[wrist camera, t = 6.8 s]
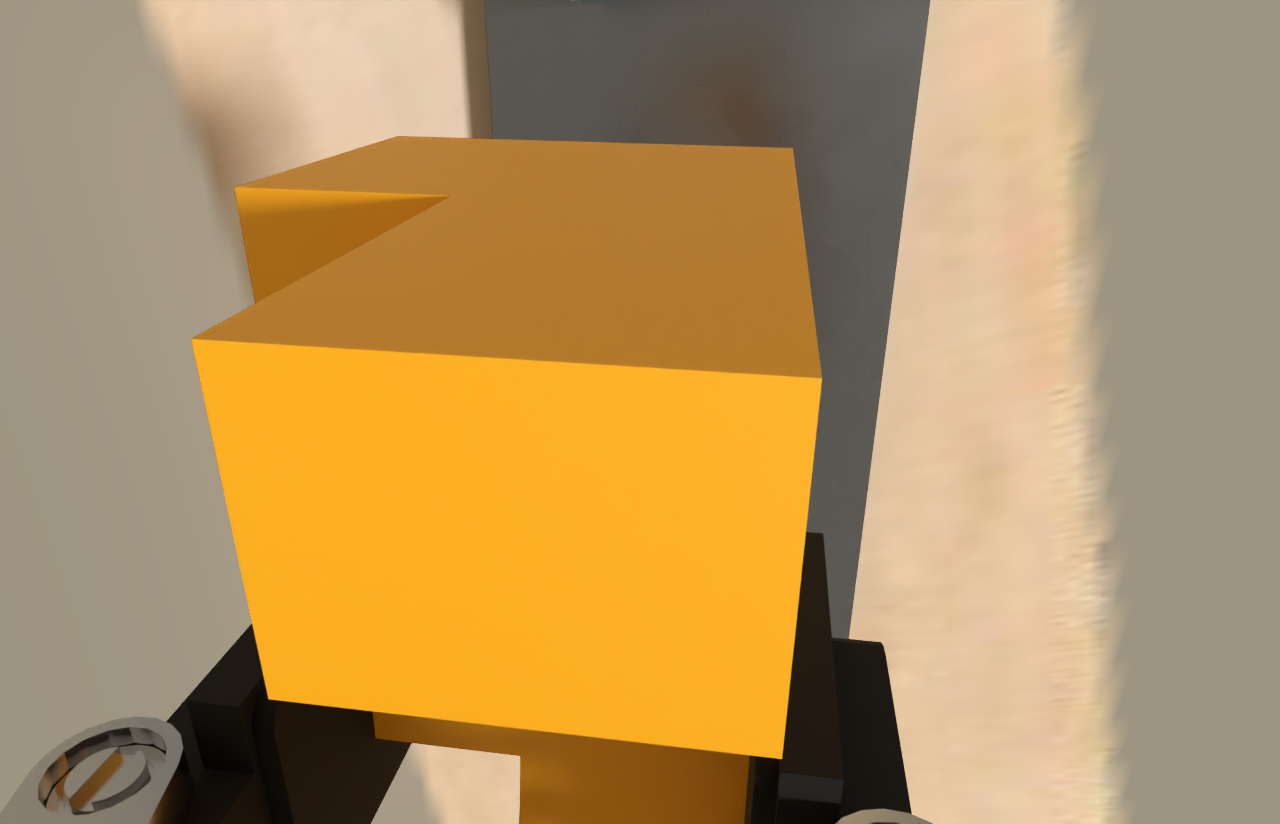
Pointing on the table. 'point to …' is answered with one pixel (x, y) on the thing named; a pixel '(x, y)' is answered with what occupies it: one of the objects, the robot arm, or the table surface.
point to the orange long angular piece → (529, 456)
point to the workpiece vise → (755, 117)
